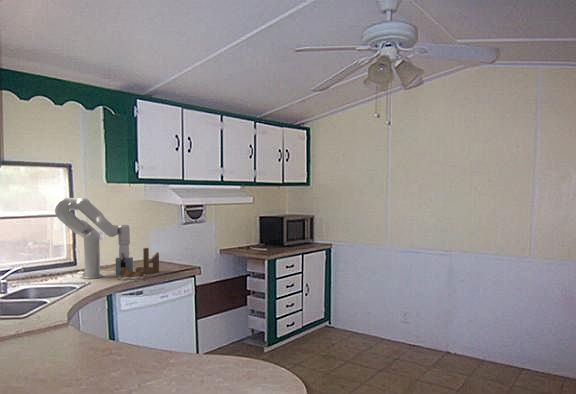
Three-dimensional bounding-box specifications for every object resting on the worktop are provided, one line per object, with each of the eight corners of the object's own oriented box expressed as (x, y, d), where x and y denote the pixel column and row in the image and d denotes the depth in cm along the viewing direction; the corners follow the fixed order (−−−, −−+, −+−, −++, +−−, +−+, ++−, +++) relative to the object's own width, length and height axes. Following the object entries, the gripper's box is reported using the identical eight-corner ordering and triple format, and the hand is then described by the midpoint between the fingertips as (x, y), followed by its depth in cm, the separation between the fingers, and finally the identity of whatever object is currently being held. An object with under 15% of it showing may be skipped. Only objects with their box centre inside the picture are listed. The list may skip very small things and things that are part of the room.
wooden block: (159, 271, 303) (158, 247, 303) (144, 273, 297) (144, 248, 296) (157, 271, 306) (157, 246, 306) (142, 272, 300) (142, 248, 299)
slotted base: (117, 280, 277) (117, 269, 277) (122, 276, 288) (122, 266, 288) (142, 279, 279) (142, 268, 279) (146, 275, 290) (146, 265, 290)
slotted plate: (132, 275, 293) (131, 258, 292) (115, 275, 291) (115, 258, 291) (133, 274, 296) (132, 257, 295) (117, 274, 294) (116, 257, 294)
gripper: (122, 241, 301) (122, 264, 302) (115, 244, 284) (115, 269, 284) (132, 240, 302) (133, 263, 302) (126, 244, 285) (127, 268, 285)
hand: (125, 266), depth 293 cm, fingers open, 9 cm apart
